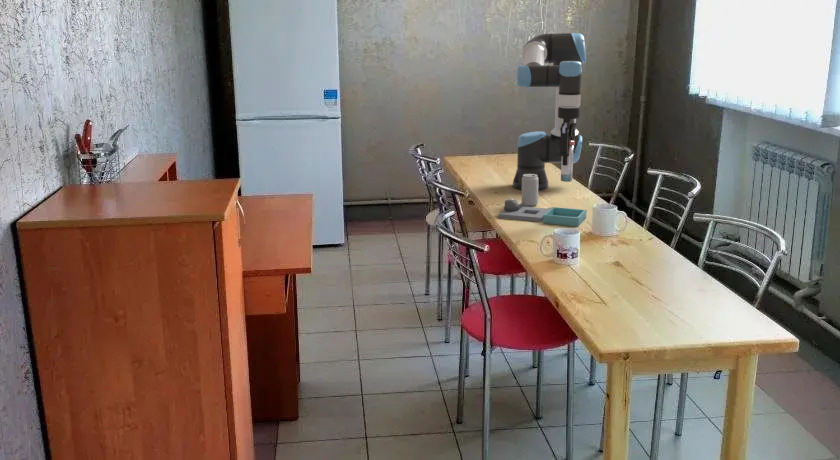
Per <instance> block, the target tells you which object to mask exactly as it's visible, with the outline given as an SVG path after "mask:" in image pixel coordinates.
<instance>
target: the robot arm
mask: <svg viewBox="0 0 840 460" xmlns="http://www.w3.org/2000/svg"><path fill="white" fill-rule="evenodd" d="M585 42H586V41H585V36H584V35H583V34H582V33H575V32H568V33H567V32H562V33H541V34H538V35H536V36H534V37H532V38H531V39H529V40H528V41H527V42H526V43H525V45H524V47H523V48H522V58H523V60H524V61H523V65H519V66H517V75H516V82H517V86H518V87H520V88H521V87H525V88H536V87H537V88H539V87H541V88H543V87H544V88H545V87H546V88H547V87H548V88H551V87H552V88H553V87H554V88H555V107H554V109H555V111H554V112H555V113H554V114H555V115H554V128H552V129H551V131H550V134H549V135H547V133H546V132H545V131H531V132H525V133H521V134H520V135H519V136H518V138H517V145H516V147H517V158H516V160H517V163H516V167H517V168H516V172H515V174H514V177H513V180H512V187H513V188H514V189H516V190H517V189H518V190H522V177H523V175H524V174H536V175H538V176H537V177H538V191H539V190H540V191H541V190H545V189H548V188H549V180H548V176H547V173H546V168H545V167H546V165H545V164H561V165H560V175H561V174H567V175H569V166H570V156H569V149H570V140H574V145H573V164H575V163H577V162H578V161H579V160H580V157H581V154H582V153H581V151H582V147H583V145H582V144H583V136H582V135H581V134H580V131H579V130H578V129H577V123H576V122H577V119H579V118H580V116H581V108H580V107H581V101H582V100H581V95H582V93H581V92H582V91H581V88H582V73H583V70H582V69H583V64H586V63H587V55H586V44H585ZM545 64H546V65H545ZM549 64H551V65H549ZM561 158H562V163H561Z"/></svg>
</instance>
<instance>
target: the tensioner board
mask: <svg viewBox="0 0 840 460" xmlns="http://www.w3.org/2000/svg"><path fill="white" fill-rule="evenodd" d="M518 202H519V201H518V200H517V199H514V198H508V199H506V200H504V206H503V207H504V208H503V209H504V210H502V211H500V212H499V213H498V219H507V220H517V221H528V222H538V223H541V222H543V218H544V214H545V213H546V212H548V211H549V210H550V209H551V208H543V207H535V206H532V207H528V206H524V205H523V203H520V204H519V203H518Z"/></svg>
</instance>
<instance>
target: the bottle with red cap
mask: <svg viewBox="0 0 840 460" xmlns="http://www.w3.org/2000/svg"><path fill="white" fill-rule="evenodd" d="M573 145H574V140H570V149H569V156H570V166H569V175H567V174H561V173H560V182H564V183H565V182H566V183H567V182H568V183H569V182H573V173H574V172H573V169H574V168H573V166H574V163H573ZM561 163H562V158H561ZM561 163H560V164H561Z"/></svg>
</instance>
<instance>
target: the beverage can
mask: <svg viewBox="0 0 840 460" xmlns="http://www.w3.org/2000/svg"><path fill="white" fill-rule="evenodd" d="M537 176H538V175H536V174H524V175H523V177H522V189H521V200H520V201H521V203H523V207H536V206H537V205H538V204H539V190H538V177H537ZM521 203H520V204H521Z"/></svg>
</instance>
